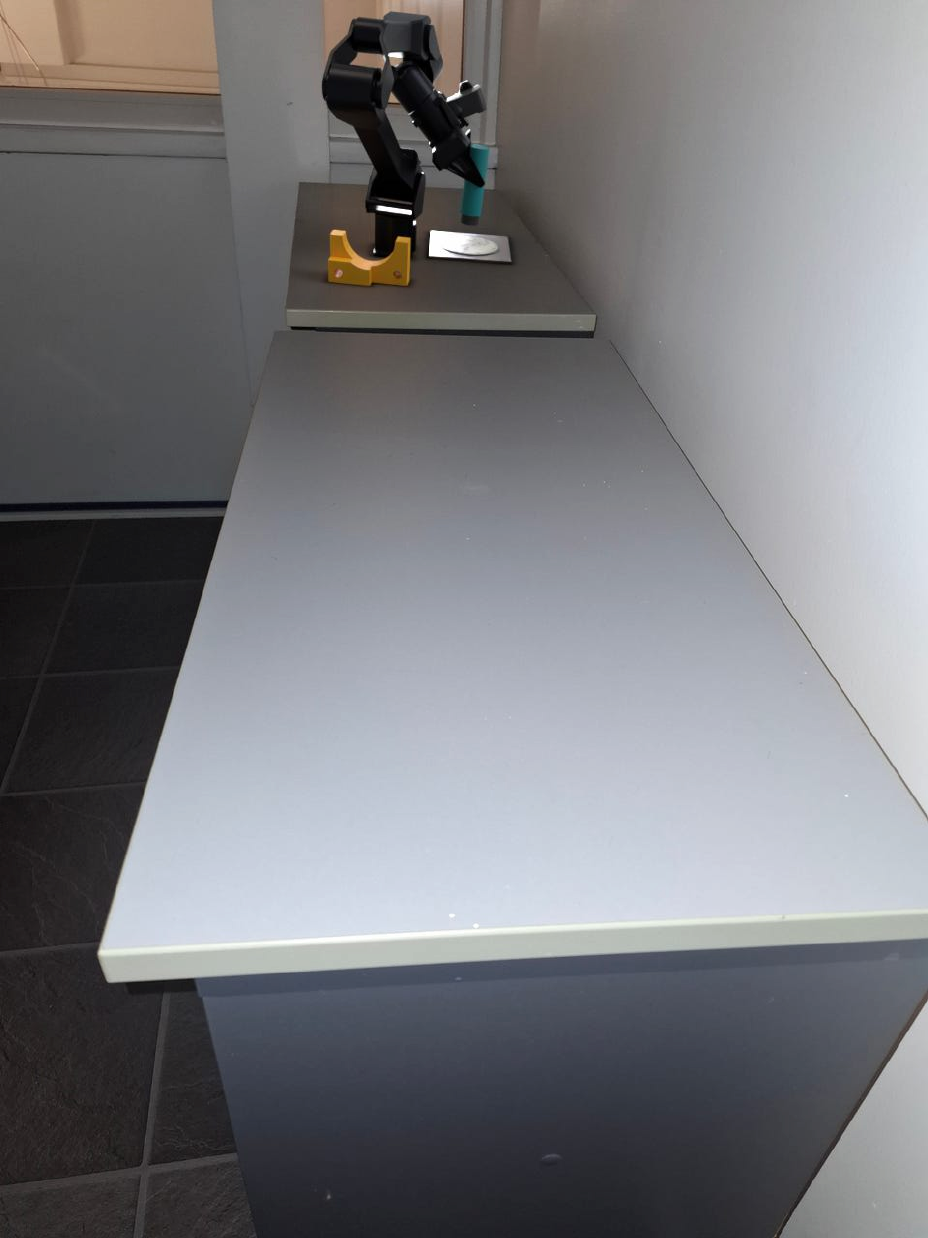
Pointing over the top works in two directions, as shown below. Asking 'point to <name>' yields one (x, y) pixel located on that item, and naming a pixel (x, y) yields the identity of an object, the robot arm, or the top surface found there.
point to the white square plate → (469, 247)
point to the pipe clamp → (367, 263)
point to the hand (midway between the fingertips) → (483, 182)
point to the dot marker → (474, 188)
